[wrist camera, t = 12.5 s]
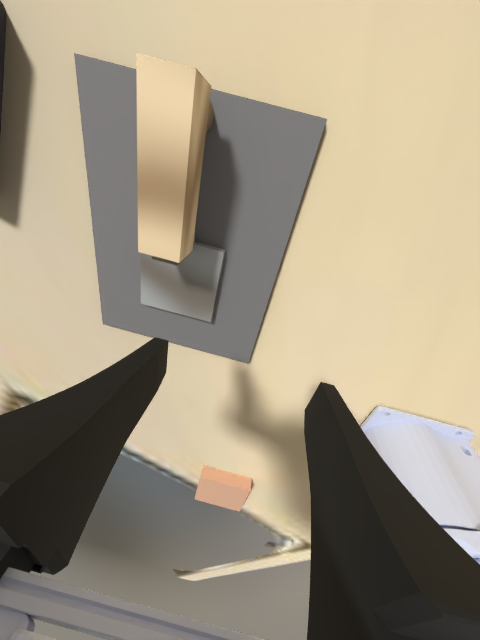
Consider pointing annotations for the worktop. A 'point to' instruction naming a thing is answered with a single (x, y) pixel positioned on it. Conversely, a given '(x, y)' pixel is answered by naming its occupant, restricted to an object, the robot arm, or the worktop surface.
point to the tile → (223, 488)
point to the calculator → (2, 51)
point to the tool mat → (212, 212)
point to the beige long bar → (173, 188)
